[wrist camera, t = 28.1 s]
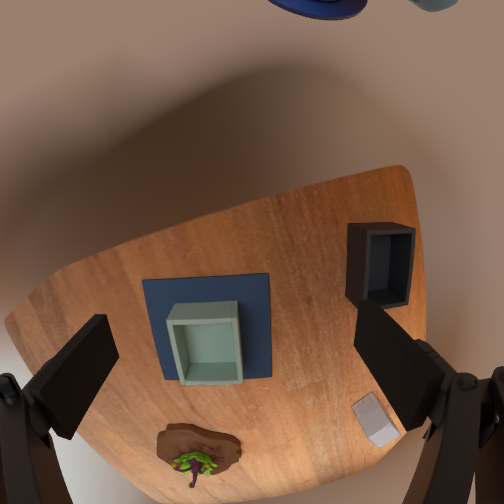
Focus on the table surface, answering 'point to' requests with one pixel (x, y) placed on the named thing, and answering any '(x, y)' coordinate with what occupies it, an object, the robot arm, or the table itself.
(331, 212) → the table surface
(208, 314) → the green open bin
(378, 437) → the small box
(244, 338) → the mat
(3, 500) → the robot arm
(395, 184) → the table surface
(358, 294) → the bin lower
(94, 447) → the table surface
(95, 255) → the table surface
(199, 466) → the plant
